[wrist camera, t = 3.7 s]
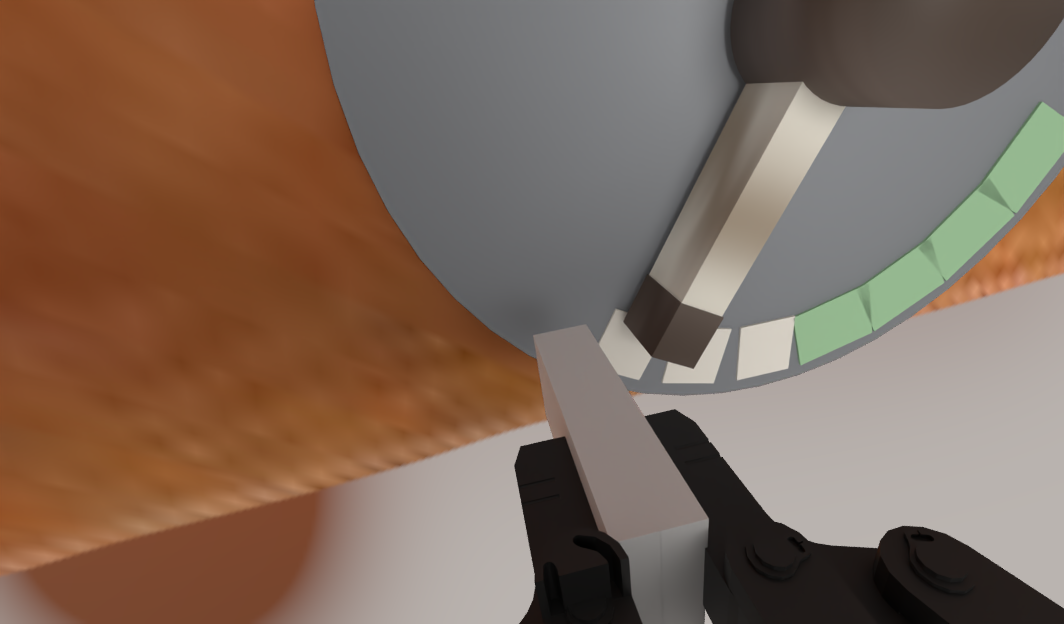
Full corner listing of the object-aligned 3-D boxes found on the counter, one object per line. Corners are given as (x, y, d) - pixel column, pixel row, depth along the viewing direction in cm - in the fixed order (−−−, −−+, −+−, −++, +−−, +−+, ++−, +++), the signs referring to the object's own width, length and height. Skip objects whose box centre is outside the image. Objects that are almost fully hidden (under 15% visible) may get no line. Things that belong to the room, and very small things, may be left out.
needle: (792, -135, 12) (1001, -272, 8) (916, -39, 14) (1150, -105, 9) (584, 309, 17) (637, 389, 12) (694, 343, 18) (777, 425, 14)
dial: (30, -133, 10) (8, -146, 10) (1279, -1636, 6) (1355, -1793, 6) (648, 487, 22) (653, 497, 22) (1205, 100, 19) (1228, 100, 18)
